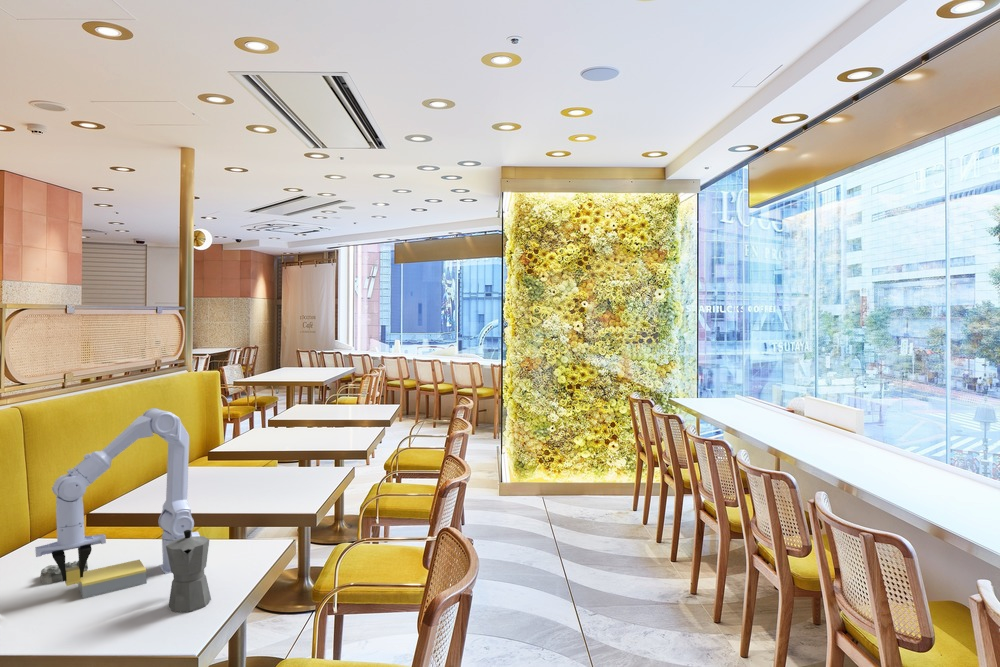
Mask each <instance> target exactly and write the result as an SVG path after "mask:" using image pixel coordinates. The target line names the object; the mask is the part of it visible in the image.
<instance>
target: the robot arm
mask: <svg viewBox="0 0 1000 667" xmlns="http://www.w3.org/2000/svg"><path fill="white" fill-rule="evenodd" d="M154 434H156V435H158V436H159V437H160V438H161V439H163V440H164V441H165V442H166V443H167V461H166V462H167V463H166V464H167V465H166V466H167V468H166V488H165V489H166V491H165V492H166V493H165V501H164V503H163V504H162V511H161V514H160V515H159V516H158V517H159V518H158V526H159V528H160V529H162V530H163V531H162V534H161V547H162V548H161V550H162V563H161V564H158V567H159V568H160V570H161V571H162V572H163V573H164V574H165V575H167V574H173V573H172V572H171V569H170V564H169V559H168V554H167V549H166V545H168V544H169V543H170V542H172V541H173V540H177V539H181V538H185V535H184V531H186V530H191V534H192V536H201V535H200V533H199V531H193V529H194V526H195V521H194V518H193V517H192V508H191V506H190V504H189V501H188V487H189V462H190V461H189V460H190V459H189V457H190V456H189V454H190V434H189V433H188V431H187V429H186V428H185V426H184V425H183V423H182V421H181V418H180V417H179V416H177V415H176V414H174V413H173V412H171V411H167V410H162V409H160V408H155V407H154V408H150V409H149V408H148V410H146V411H145V412H143V414H142V415H139V416H138V417H136V418H135V419H134V421H132V422H131V424H129V426H127V427H126V428H125V429H124V430H123V431H121V433H119V434H118V435H117V436H116V437H115V438H114V439H113V440H111V442H110V443H108V445H106V447H104V448H103V449H102V450H100V451H99V450H98V451H96V450H95V451H92V452H91V453H86V454H84V455H83V458H84V459H82V460H81V461H80V462H79V463H78V464H76V465H75V466H74V467H73V468H68V470H66V472H67V473H66V474H61V475H60V476H59V477H58V478H57V479H55V481H54V484H53V486H52V487H51V491H52V493H53V494H54V495H55V496H56V497H55V499H56V500H55V507H56V508H55V515H56V516H55V518H56V521H55V522H56V541H55V542H50V543H47V544H43V545H39V546H35V550H34V552H35V557H36V558H38V557H42V556H46V555H50V554H51V555H52V558H53V560H54V561H55V563H56V565H58V567H59V569H60V571H61V574H62V579H63V581H62V582H65V581H66V569H65V563H66V554H65V553H66V552H65V551H70V550H75V549H77V552H78V561H79V569H80V578H81V577H83V572H84V568H85V564H86V562H87V563H88V559H89V557H90V555H91V553H92V551H93V550H92V546H95V545H99V544H101V545H104V544H106V543H107V540H106V539H107V536H106V535H105V533H102V534H96V535H95V534H94V535H86V534H85V533H86V532H85V510H84V509H85V508H84V506H85V505H84V502H83V501H84V497H83V496H84V495H85V493H86V492H87V488H88V487H90V486H91V485H92V484H93V483H94V482H95V481H96V480H98V479H99V477H101V476H102V475H103V474H104V473H106V472H107V471H108V470H109V469H110V468H111V466H112V460H113V459H115V458H116V457H117V456H118V455H120V454H122V453H123V452H124V451H125V450H126V449H127V448H129V447H130V446H131V445H132V444H134V443H136V442H137V441H138V440H139V439H144V438H151V437H154Z"/></svg>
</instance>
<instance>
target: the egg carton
mask: <svg viewBox="0 0 1000 667" xmlns="http://www.w3.org/2000/svg"><path fill="white" fill-rule="evenodd" d="M75 566H79V560H78V561H77V560H75V561H72V562H71V561H68V562H65V569H66V568H70V567H75ZM88 569H89V566H88V561H87V562H86V564H85V568H84V572H85V571H88ZM39 578H41V579H40V580H41V585H45V584H46V585H47V584H48V585H49V584H53V583H54V582H58V581H61V582H64V581H63V579H62V574H61V571H60V569H59V567H58V565H57V564H55V565H54V564H53V565H52V564H51V565H48V566H45V567H44V568H42V569H41V570H40V577H39Z"/></svg>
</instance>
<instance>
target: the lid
mask: <svg viewBox="0 0 1000 667" xmlns="http://www.w3.org/2000/svg"><path fill="white" fill-rule="evenodd" d="M143 572H146V573H147V569H146V567H145V565H144V564H143V563H142V561H141V560H140V559H136V560H131V561H125V562H121V563H117V564H113V565H109V566H108V565H107V566H103V567H99V568H95V569H91V570H87V571H85V572H83V577H81V578H80V569H79V566H75V567H70V568H66V581H64V583H65V586H66V587H68V586H73V585H78V583H81V584H82V586H87V585H91V584H95V583H100V582H104V581H108V580H113V579H117V578H121V577H126V576H130V575H134V574H139V573H143Z"/></svg>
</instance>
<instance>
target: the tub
mask: <svg viewBox="0 0 1000 667" xmlns="http://www.w3.org/2000/svg"><path fill="white" fill-rule="evenodd" d="M147 580H148V579H147V571H146V572H143V573H139V574H134V575H130V576H126V577H121V578H117V579H113V580H108V581H104V582H100V583H95V584H91V585H87V586H82V584H81V583H78V584H77V585H78V586H77V587H78V590H79V592H80V596H81V598H82V600H84V599H88V598H92V597H95V596H99V595H104V594H105V595H106V594H108V593H112V592H117V591H120V590H125V589H128V588H133V587H137V586H141V585H142V586H143V585H145V584H147Z"/></svg>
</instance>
